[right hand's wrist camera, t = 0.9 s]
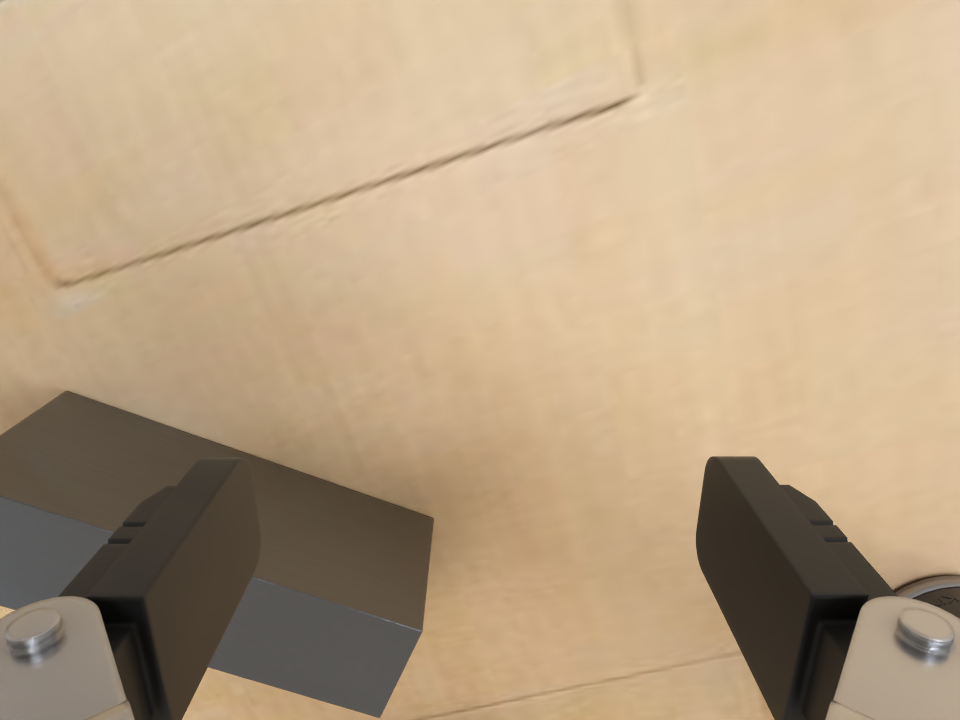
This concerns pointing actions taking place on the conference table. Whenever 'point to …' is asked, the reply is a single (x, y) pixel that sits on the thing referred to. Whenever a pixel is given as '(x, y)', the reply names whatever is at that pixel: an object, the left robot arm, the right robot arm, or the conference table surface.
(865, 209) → the conference table surface
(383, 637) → the box
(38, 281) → the conference table surface
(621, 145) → the conference table surface
